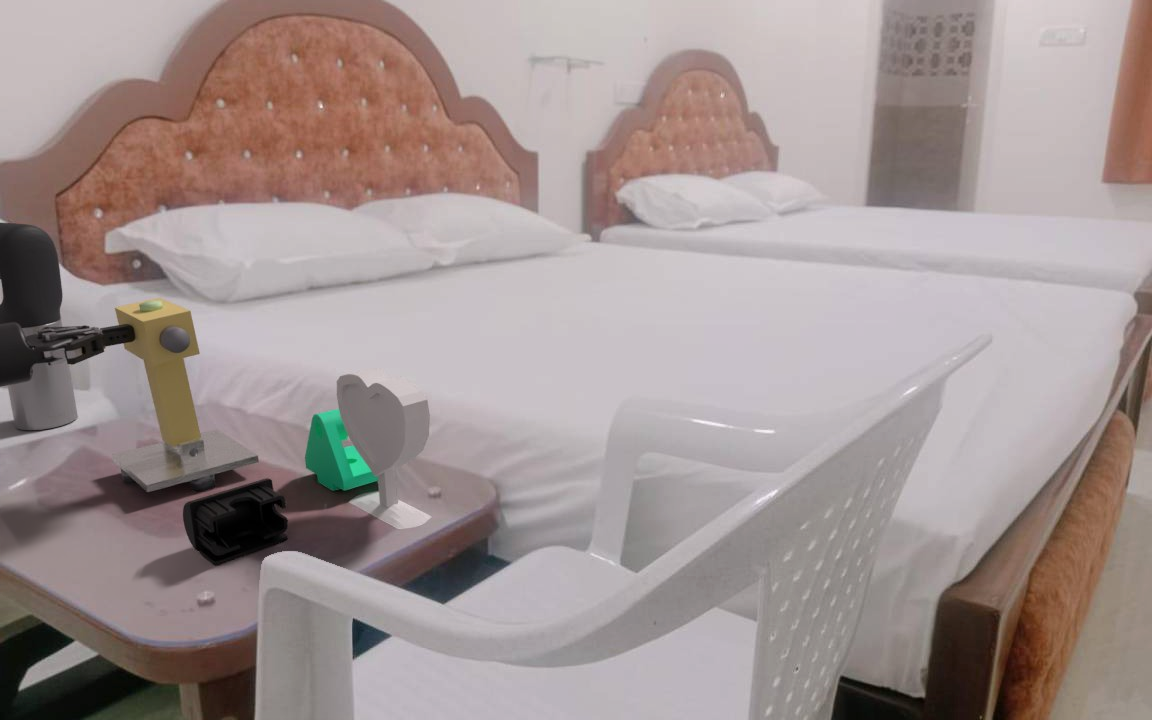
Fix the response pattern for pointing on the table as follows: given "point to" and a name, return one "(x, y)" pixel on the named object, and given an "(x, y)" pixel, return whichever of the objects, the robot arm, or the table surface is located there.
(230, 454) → the grey metal base plate
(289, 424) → the table surface
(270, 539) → the end cap
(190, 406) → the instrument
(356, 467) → the camera mount
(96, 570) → the table surface
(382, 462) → the heart sculpture
